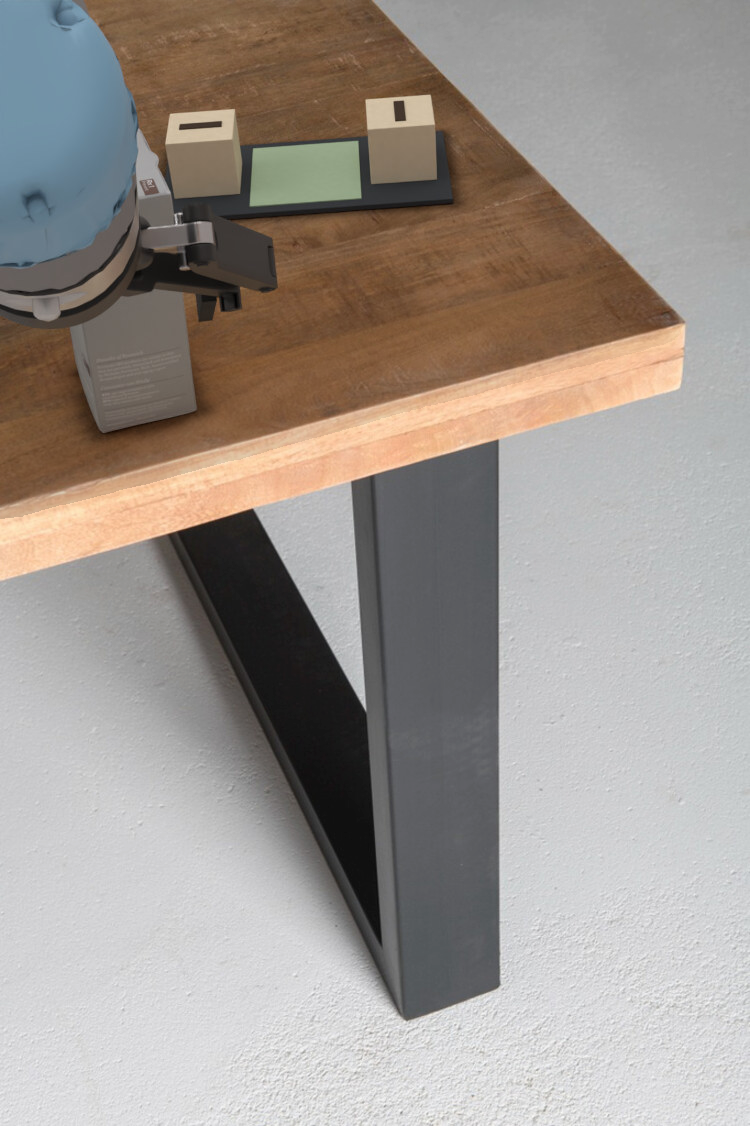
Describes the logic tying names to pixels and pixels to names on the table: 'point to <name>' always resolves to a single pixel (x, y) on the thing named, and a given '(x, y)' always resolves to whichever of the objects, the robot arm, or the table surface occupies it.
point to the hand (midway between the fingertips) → (74, 307)
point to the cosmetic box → (138, 335)
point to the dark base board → (309, 165)
